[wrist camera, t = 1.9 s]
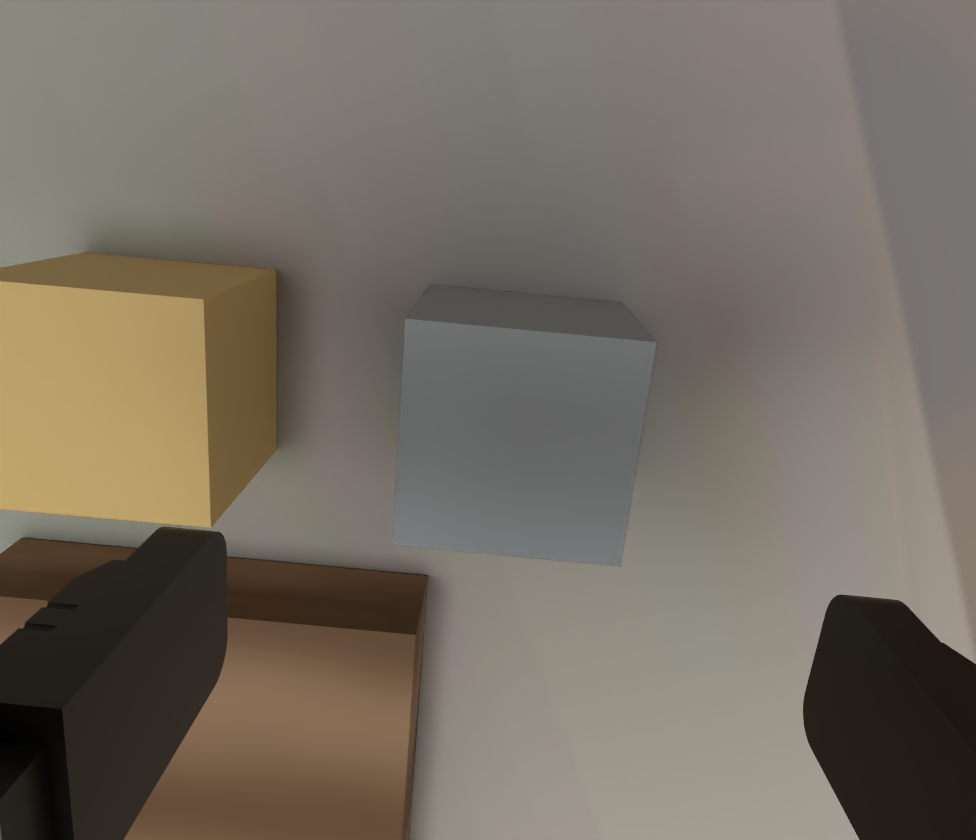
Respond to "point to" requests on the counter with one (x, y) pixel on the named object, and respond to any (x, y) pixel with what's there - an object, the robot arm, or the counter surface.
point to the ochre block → (135, 386)
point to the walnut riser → (278, 699)
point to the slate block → (520, 424)
